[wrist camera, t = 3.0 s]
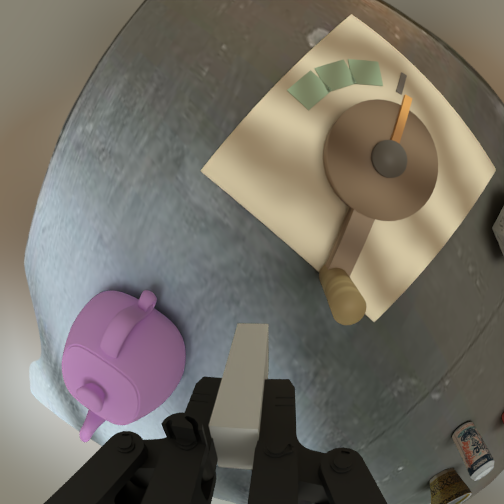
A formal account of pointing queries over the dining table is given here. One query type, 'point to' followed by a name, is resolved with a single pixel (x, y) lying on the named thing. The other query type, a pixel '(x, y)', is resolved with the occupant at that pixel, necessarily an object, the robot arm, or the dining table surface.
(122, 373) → the teapot
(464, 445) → the beer can
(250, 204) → the board
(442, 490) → the ceramic cup
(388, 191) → the dial
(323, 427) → the dining table surface
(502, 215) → the die
